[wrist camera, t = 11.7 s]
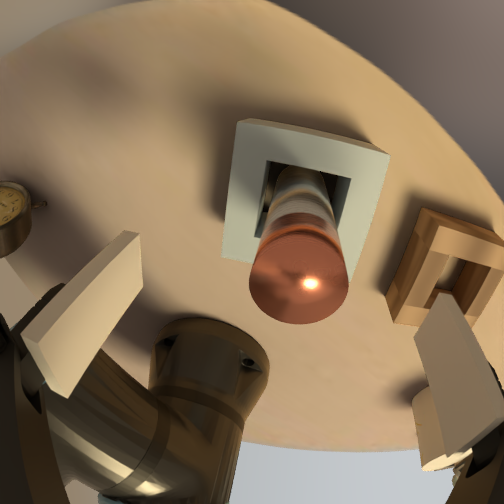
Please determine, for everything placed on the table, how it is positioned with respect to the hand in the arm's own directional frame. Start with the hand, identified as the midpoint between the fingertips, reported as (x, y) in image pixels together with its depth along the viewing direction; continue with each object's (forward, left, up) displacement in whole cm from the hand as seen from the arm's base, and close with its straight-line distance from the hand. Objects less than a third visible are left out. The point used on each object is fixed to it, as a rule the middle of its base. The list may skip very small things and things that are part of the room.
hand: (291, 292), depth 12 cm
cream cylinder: (+29, -26, -14) cm, 41 cm away
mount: (+16, -4, -14) cm, 22 cm away
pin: (0, 0, -14) cm, 14 cm away
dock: (0, 0, -14) cm, 14 cm away
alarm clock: (-33, -6, -14) cm, 36 cm away
